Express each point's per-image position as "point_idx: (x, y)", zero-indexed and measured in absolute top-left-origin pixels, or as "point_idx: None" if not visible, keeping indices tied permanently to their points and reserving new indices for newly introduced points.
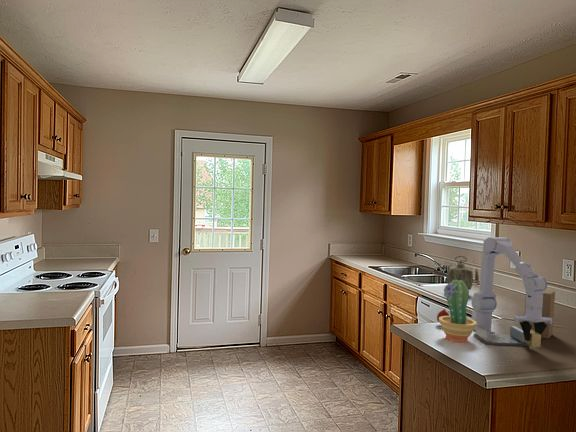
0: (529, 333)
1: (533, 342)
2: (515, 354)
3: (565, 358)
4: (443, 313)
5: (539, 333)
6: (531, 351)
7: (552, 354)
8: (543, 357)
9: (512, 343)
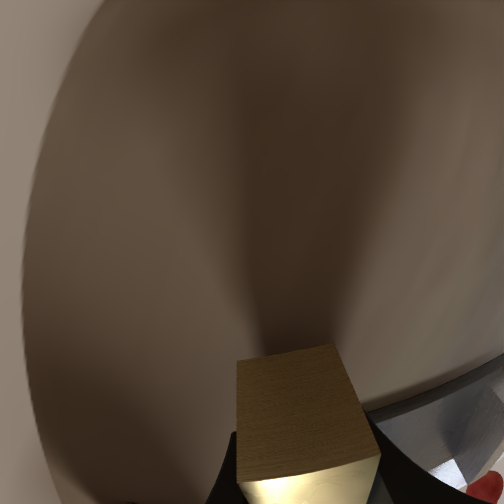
0: (381, 469)
1: (326, 376)
2: (466, 210)
3: (58, 230)
4: (499, 493)
5: (241, 502)
6: (301, 338)
7: (135, 311)
8: (254, 187)
9: (383, 419)
